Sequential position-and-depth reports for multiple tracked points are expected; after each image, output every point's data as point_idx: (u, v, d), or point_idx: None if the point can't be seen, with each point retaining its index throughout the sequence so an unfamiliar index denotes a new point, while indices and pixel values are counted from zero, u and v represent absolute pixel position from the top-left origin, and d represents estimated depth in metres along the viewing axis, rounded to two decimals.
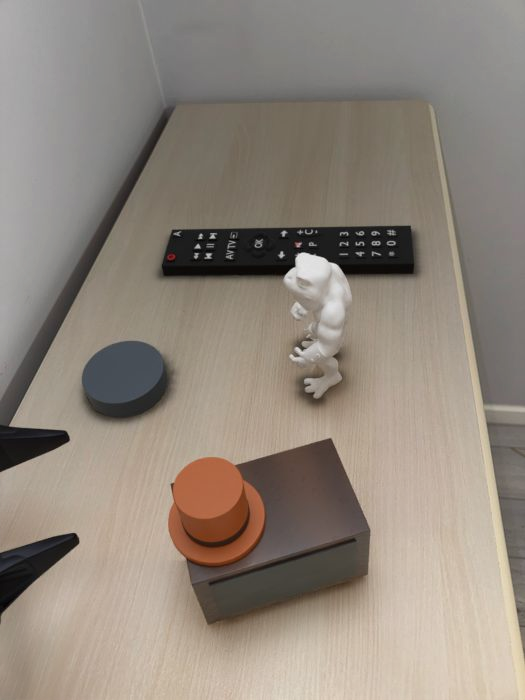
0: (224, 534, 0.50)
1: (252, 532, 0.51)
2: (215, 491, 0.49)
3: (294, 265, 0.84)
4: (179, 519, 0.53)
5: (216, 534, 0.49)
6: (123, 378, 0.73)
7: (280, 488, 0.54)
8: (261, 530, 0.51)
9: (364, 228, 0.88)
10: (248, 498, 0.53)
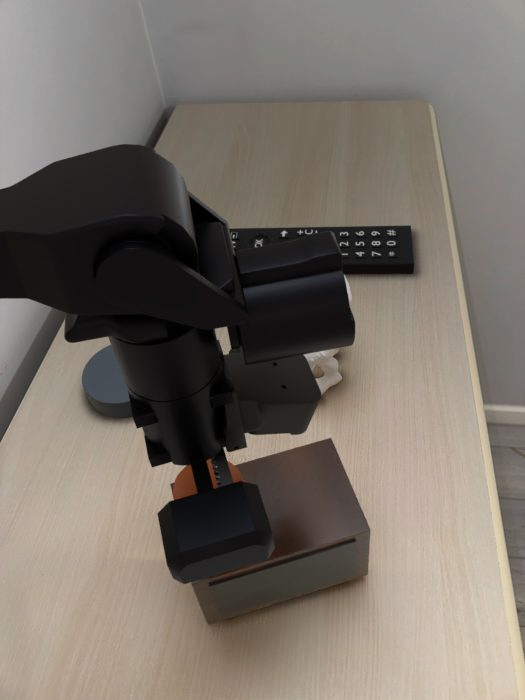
0: None
1: None
2: None
3: None
4: None
5: None
6: (123, 378, 0.73)
7: (280, 488, 0.54)
8: None
9: (364, 228, 0.88)
10: None
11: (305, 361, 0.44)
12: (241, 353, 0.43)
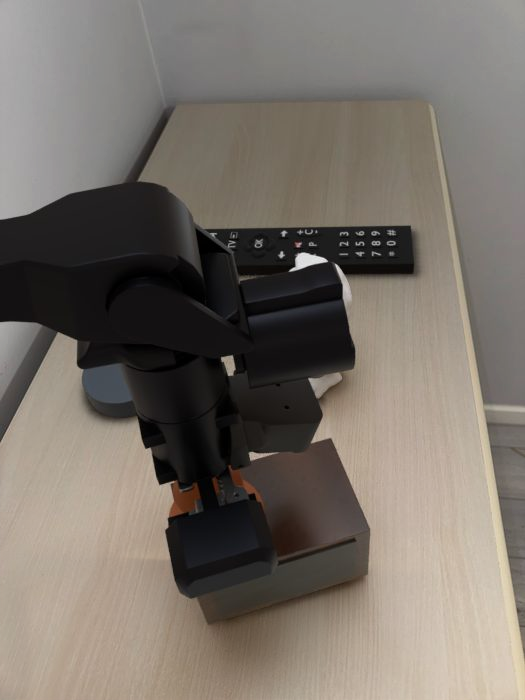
0: None
1: None
2: (215, 490, 0.49)
3: (294, 265, 0.84)
4: None
5: None
6: (123, 378, 0.73)
7: (280, 488, 0.54)
8: None
9: (364, 228, 0.88)
10: None
11: (307, 381, 0.46)
12: (245, 374, 0.45)
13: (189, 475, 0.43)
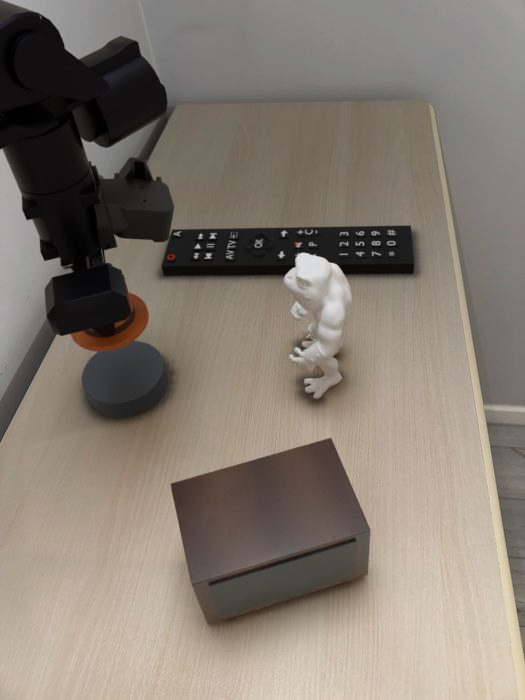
0: None
1: (135, 327, 0.63)
2: None
3: (294, 265, 0.84)
4: None
5: None
6: (123, 378, 0.73)
7: (280, 488, 0.54)
8: (143, 326, 0.63)
9: (364, 228, 0.88)
10: (136, 306, 0.65)
11: (167, 188, 0.57)
12: (115, 179, 0.56)
13: (67, 251, 0.55)
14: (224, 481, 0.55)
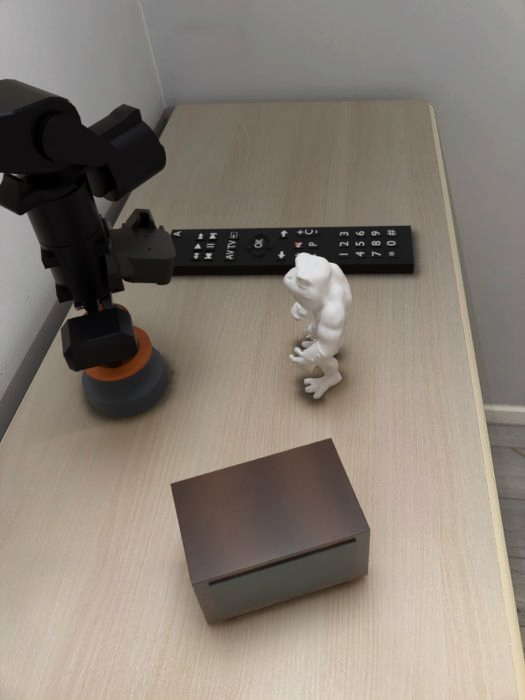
0: None
1: (139, 358, 0.70)
2: None
3: (294, 265, 0.84)
4: None
5: None
6: None
7: (280, 488, 0.54)
8: (146, 357, 0.70)
9: (364, 228, 0.88)
10: (140, 338, 0.72)
11: (169, 236, 0.64)
12: (123, 229, 0.63)
13: (80, 295, 0.61)
14: (224, 481, 0.55)
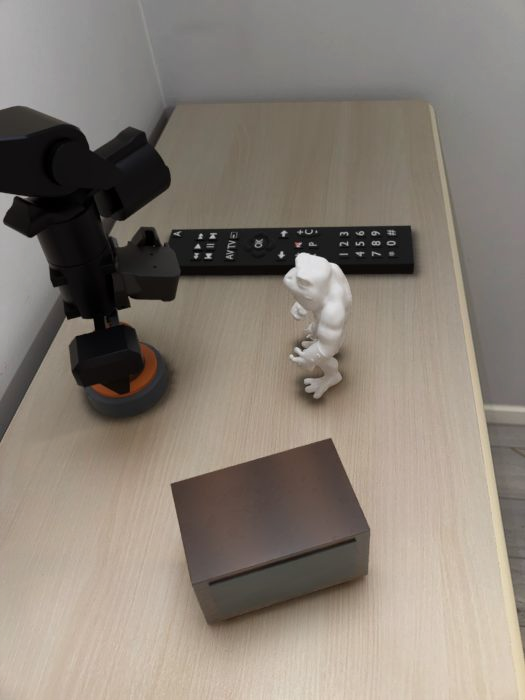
0: None
1: (145, 376, 0.72)
2: None
3: (294, 265, 0.84)
4: None
5: None
6: None
7: (280, 488, 0.54)
8: (152, 374, 0.72)
9: (364, 228, 0.88)
10: (145, 355, 0.74)
11: (173, 253, 0.66)
12: (128, 247, 0.65)
13: (87, 312, 0.63)
14: (224, 481, 0.55)
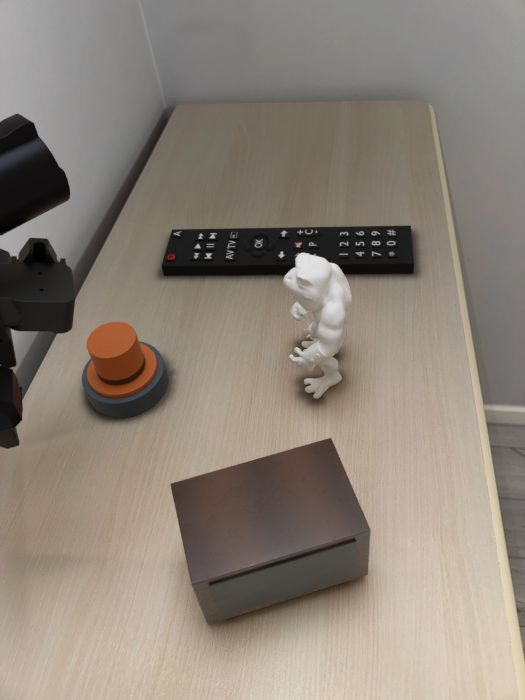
0: (123, 373, 0.70)
1: (145, 376, 0.72)
2: (116, 341, 0.69)
3: (294, 265, 0.84)
4: (95, 369, 0.73)
5: (117, 373, 0.70)
6: None
7: (280, 488, 0.54)
8: (152, 374, 0.72)
9: (364, 228, 0.88)
10: (145, 355, 0.74)
11: (70, 272, 0.52)
12: (11, 263, 0.51)
13: None
14: (224, 481, 0.55)
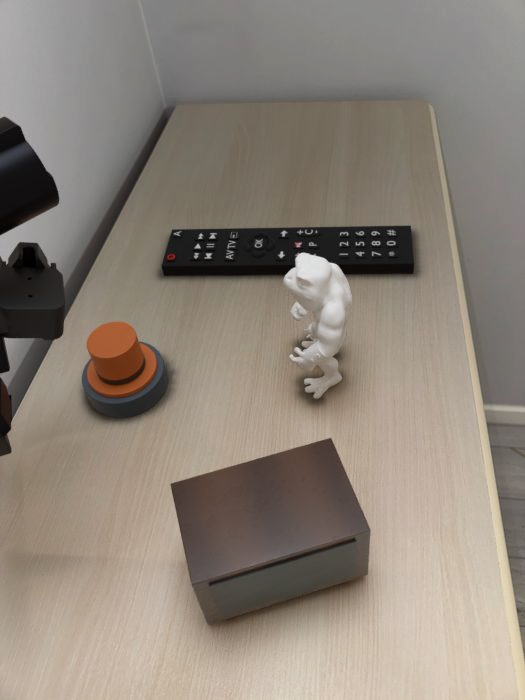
0: (123, 373, 0.70)
1: (145, 376, 0.72)
2: (116, 341, 0.69)
3: (294, 265, 0.84)
4: (95, 369, 0.73)
5: (117, 373, 0.70)
6: None
7: (280, 488, 0.54)
8: (152, 374, 0.72)
9: (364, 228, 0.88)
10: (145, 355, 0.74)
11: (60, 277, 0.51)
12: (0, 269, 0.50)
13: None
14: (224, 481, 0.55)
